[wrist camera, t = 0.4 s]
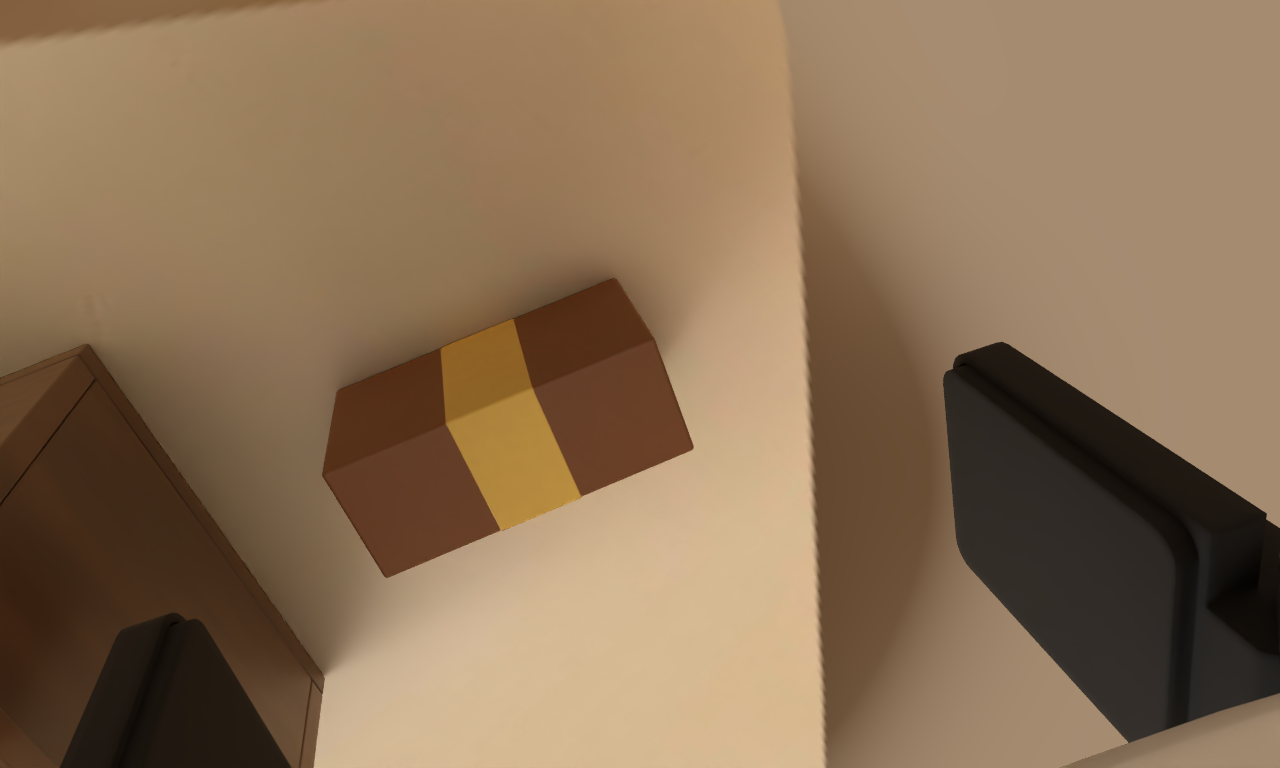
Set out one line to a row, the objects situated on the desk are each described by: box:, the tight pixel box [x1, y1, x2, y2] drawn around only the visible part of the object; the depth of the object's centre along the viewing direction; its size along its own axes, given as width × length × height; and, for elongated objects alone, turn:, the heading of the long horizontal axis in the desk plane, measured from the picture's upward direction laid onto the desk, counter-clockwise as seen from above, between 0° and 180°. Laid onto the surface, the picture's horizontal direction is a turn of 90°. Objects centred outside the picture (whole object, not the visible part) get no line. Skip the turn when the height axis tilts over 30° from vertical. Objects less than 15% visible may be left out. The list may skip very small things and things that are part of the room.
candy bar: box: [322, 278, 693, 578], centre depth 26 cm, size 4×9×5 cm, turn 109°
